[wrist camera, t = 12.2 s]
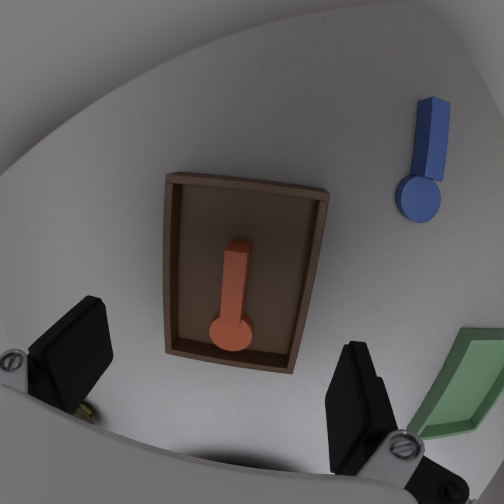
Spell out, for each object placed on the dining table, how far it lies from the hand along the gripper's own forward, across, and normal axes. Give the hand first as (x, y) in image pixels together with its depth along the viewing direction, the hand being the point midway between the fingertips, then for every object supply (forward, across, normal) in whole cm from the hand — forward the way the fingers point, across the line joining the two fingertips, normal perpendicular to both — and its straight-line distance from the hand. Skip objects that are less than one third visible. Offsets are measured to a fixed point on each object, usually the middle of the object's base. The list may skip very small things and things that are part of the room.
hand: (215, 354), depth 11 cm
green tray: (+13, -27, +13) cm, 33 cm away
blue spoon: (+14, -12, -9) cm, 20 cm away
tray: (+13, +1, +3) cm, 14 cm away
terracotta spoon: (+13, +1, +4) cm, 14 cm away
